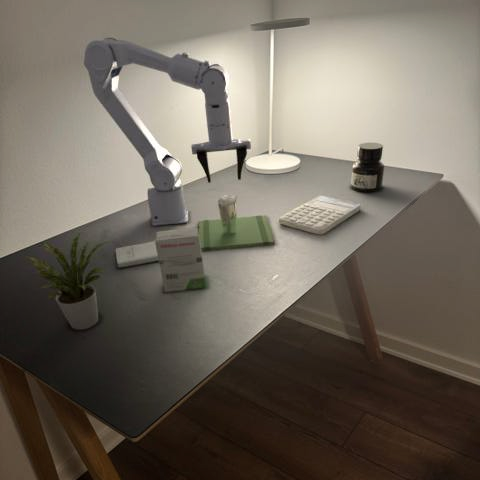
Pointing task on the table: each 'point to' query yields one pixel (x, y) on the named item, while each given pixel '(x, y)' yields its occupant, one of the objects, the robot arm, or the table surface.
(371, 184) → the ink bottle
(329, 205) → the calculator
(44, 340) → the table surface
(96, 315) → the house plant
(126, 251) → the hard drive
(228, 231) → the milkshake
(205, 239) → the towel
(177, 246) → the ink box
